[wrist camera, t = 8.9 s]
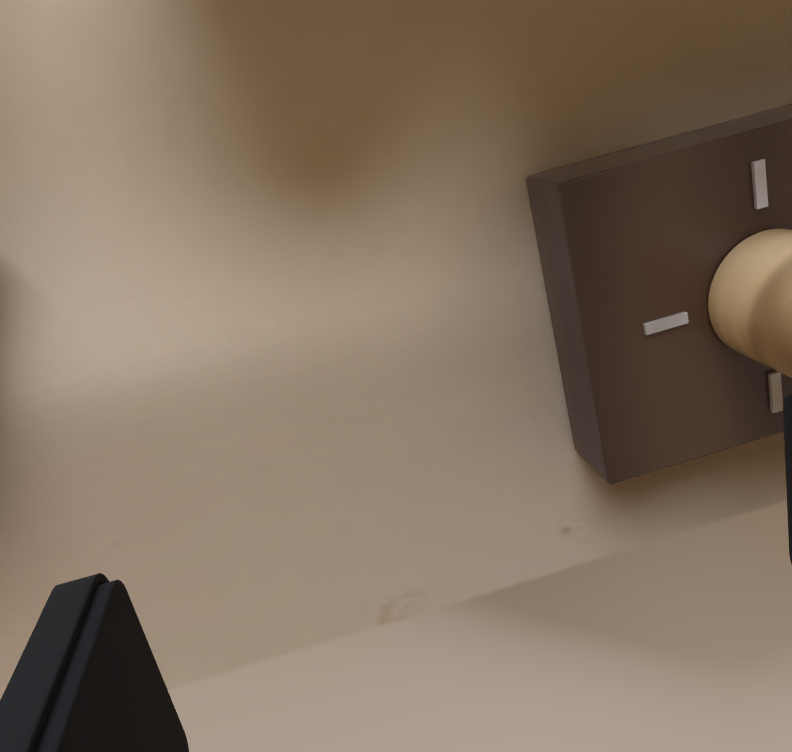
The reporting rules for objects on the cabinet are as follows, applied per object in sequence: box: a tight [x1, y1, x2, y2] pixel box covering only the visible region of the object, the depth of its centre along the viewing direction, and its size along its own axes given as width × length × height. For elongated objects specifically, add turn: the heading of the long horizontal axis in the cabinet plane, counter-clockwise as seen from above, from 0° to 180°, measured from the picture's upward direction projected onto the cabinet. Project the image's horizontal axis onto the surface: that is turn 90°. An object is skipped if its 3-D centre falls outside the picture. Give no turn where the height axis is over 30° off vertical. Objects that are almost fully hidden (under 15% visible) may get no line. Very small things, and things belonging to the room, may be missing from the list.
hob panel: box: [526, 104, 792, 484], centre depth 25 cm, size 12×10×3 cm
